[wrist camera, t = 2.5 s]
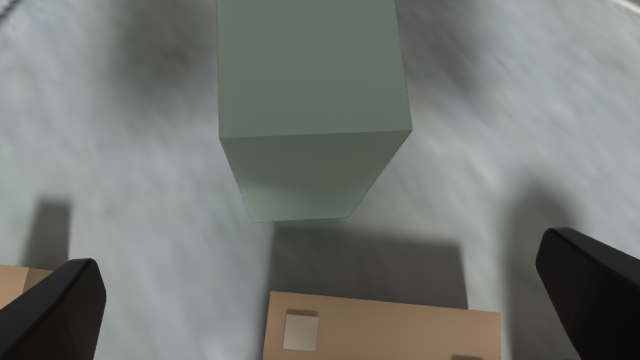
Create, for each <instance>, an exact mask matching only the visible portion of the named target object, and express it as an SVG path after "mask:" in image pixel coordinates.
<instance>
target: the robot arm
mask: <svg viewBox="0 0 640 360" xmlns="http://www.w3.org/2000/svg"><path fill="white" fill-rule="evenodd" d="M536 268H537V271H538V274H539V276H540V278H541V280H542V282H543V284H544V287H545V289H546V291H547V293H548V295H549V297H550V299H551V302H552V304H553V306H554V308H555V310H556V312H557V315H558V317H559V319H560V321H561V323H562V325H563V327H564V329H565V331H566V333H567V335H568V337H569V339H570V341H571V342H572V344H573V346H574V348H575V349H576V351H577V353H578V354H579V356H580V358H581V359H582V360H640V260H639V259H637V258H635V257H633V256H630V255H628V254H626V253H624V252H622V251H619V250H617V249H615V248H613V247H611V246H608V245H606V244H604V243H602V242H600V241H597V240H595V239H593V238H591V237H589V236H586V235H584V234H582V233H580V232H578V231H576V230H573V229H571V228H568V227H556V228H549V229H547V230H546V231H545V232H544V234H543V237H542V241H541V244H540V247H539V250H538V253H537V256H536ZM105 305H106V289H105V286H104V283H103V280H102V277H101V274H100V271H99V267H98V265H97V262H96V261H95V260H94V259H92V258H84V259H72V260H69V261H68V262H66V263H65V264H63V265H62V266H61V267H59V268H58V269H56V270H55V271H54V272H52V273H51V274H49V275H48V276H47V277H45V278H44V279H42V280H41V281H40V282H38V283H37V284H35V285H34V286H33V287H31V288H30V289H28V290H27V291H26V292H24V293H23V294H21V295H20V296H19V297H17V298H16V299H14V300H13V301H12V302H10V303H9V304H7V305H6V306H5V307H3V308H2V309H0V360H93V359H94V354H95V350H96V345H97V341H98V336H99V332H100V327H101V323H102V318H103V314H104V309H105Z"/></svg>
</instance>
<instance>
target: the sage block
mask: <svg viewBox="0 0 640 360" xmlns="http://www.w3.org/2000/svg"><path fill="white" fill-rule="evenodd" d="M217 28H218V91H219V139H220V141H221V144H222V146H223V149H224V151H225V154H226V156H227V159H228V162H229V164H230V167H231V169H232V172H233V174H234V177H235V179H236V182H237V184H238V187H239V189H240V192H241V194H242V197H243V199H244V202H245V205H246V207H247V210H248V212H249V215H250V217H251V220H252V222H253V223H258V222H275V221H291V220H308V219H325V218H342V217H349V216H350V214H351V213H352V212H353V210H354V209H355V207H356V206H357V205H358V203H359V202H360V201H361V199H362V198H363V197H364V195H365V194H366V193H367V191H368V190H369V188H370V187H371V186H372V184H373V183H374V182H375V180H376V179H377V178H378V176H379V175H380V174H381V172H382V171H383V169H384V168H385V167H386V165H387V164H388V163H389V161H390V160H391V159H392V157H393V156H394V155H395V153H396V152H397V151H398V149H399V148H400V146H401V145H402V144H403V142H404V141H405V140H406V138H407V137H408V136H409V134H410V133H411V132H412V122H411V115H410V108H409V101H408V93H407V86H406V79H405V72H404V64H403V57H402V50H401V43H400V35H399V28H398V21H397V14H396V6H395V0H217Z"/></svg>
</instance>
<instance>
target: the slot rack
mask: <svg viewBox="0 0 640 360" xmlns="http://www.w3.org/2000/svg"><path fill="white" fill-rule="evenodd" d="M52 272H54V271H51V270H44V269H37V268H30V267H20V266H10V265H0V309H2V308H3V307H5V306H6V305H7V304H9V303H10V302H12V301H13V300H14V299H16V298H17V297H19V296H20V295H21V294H23V293H24V292H26V291H27V290H28V289H30V288H31V287H33V286H34V285H35V284H37V283H38V282H40V281H41V280H42V279H44V278H45V277H47V276H48V275H49V274H51V273H52ZM262 360H501V345H500V313H497V312H487V311H477V310H466V309H456V308H446V307H435V306H425V305H414V304H404V303H394V302H383V301H373V300H362V299H352V298H342V297H331V296H321V295H311V294H300V293H290V292H279V291H271V292H270V300H269V309H268V317H267V325H266V334H265V342H264V351H263V359H262Z"/></svg>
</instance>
